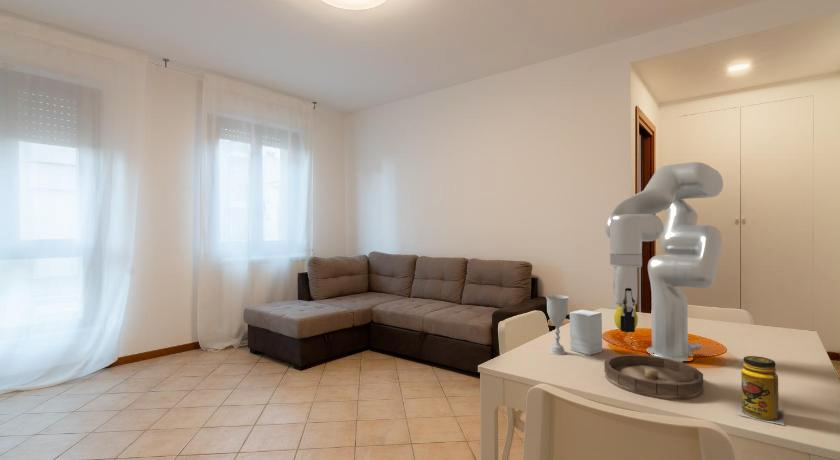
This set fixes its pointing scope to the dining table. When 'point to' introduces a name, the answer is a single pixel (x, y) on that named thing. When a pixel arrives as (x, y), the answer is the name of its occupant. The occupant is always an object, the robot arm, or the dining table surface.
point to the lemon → (618, 318)
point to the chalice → (557, 318)
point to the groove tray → (661, 376)
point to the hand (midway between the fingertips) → (625, 328)
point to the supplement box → (586, 331)
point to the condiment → (760, 390)
